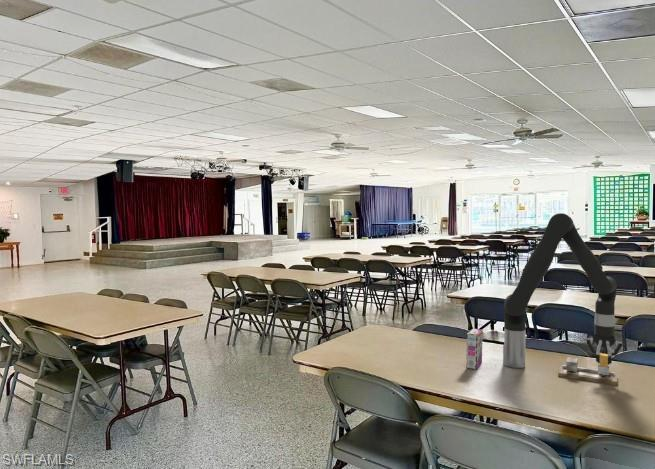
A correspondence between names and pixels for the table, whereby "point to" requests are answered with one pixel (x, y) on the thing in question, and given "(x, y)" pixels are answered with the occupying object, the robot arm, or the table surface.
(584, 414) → the table surface
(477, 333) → the candy bar box
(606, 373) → the block
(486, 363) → the table surface
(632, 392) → the table surface
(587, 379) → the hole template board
